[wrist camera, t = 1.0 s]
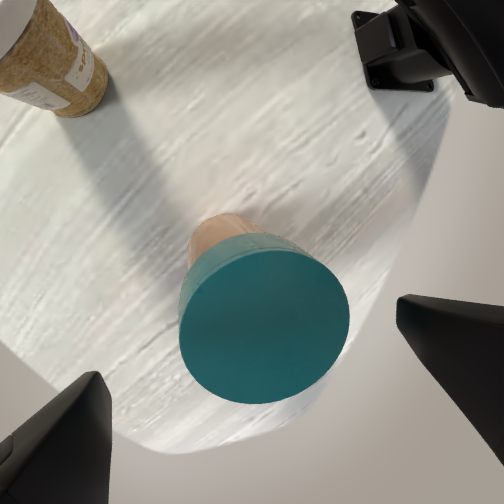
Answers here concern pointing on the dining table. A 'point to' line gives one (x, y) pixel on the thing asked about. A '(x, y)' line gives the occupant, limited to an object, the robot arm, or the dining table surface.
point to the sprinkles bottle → (47, 60)
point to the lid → (260, 319)
